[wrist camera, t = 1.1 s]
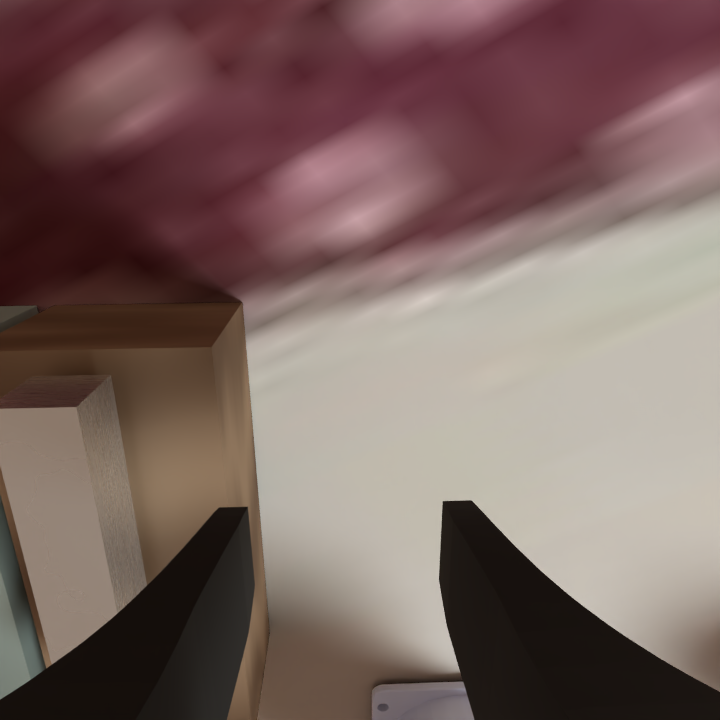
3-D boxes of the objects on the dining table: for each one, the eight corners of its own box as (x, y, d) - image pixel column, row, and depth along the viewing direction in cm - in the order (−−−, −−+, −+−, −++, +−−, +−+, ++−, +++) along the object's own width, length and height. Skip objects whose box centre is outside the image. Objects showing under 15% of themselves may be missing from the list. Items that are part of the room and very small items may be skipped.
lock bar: (177, 687, 18) (151, 770, 16) (89, 690, 18) (50, 774, 16) (126, 374, 14) (82, 418, 12) (16, 376, 14) (-51, 421, 12)
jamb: (269, 633, 25) (252, 752, 20) (120, 638, 24) (65, 759, 19) (242, 302, 20) (209, 350, 15) (54, 305, 19) (-44, 354, 14)
